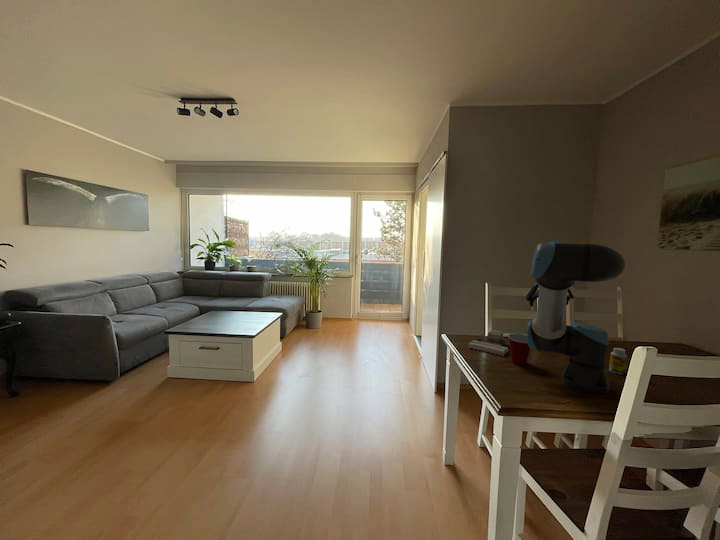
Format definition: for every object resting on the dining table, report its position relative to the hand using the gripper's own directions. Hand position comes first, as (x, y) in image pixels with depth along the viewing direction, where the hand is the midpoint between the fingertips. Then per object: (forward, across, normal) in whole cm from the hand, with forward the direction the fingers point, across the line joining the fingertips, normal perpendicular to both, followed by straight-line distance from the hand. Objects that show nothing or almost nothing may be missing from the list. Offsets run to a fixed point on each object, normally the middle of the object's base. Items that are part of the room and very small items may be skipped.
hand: (547, 310), depth 158 cm
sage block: (+17, +24, +1) cm, 30 cm away
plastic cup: (+10, +19, +25) cm, 33 cm away
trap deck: (+17, +27, +7) cm, 33 cm away
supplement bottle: (+15, -20, +26) cm, 36 cm away
